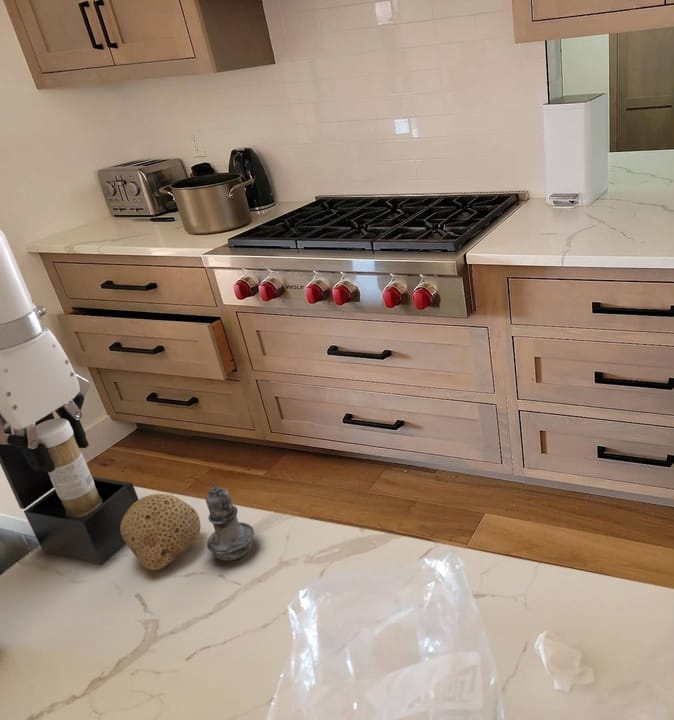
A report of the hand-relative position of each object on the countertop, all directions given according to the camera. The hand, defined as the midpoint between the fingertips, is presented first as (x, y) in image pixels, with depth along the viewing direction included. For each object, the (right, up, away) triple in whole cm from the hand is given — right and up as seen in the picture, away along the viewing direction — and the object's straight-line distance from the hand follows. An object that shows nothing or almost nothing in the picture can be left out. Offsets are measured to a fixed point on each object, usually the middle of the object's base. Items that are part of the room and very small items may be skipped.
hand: (61, 456), depth 88 cm
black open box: (+1, -13, +7) cm, 15 cm away
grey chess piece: (+22, -14, +1) cm, 26 cm away
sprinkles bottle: (+1, -8, +4) cm, 9 cm away
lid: (-4, 0, +2) cm, 5 cm away
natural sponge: (+14, -14, +2) cm, 20 cm away
